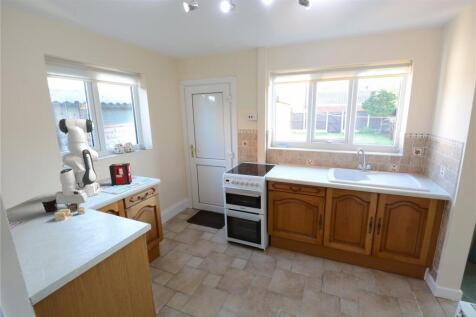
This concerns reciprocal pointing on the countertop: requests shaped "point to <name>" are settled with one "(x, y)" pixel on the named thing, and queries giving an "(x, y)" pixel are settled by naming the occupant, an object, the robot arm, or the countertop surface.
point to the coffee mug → (50, 204)
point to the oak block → (62, 214)
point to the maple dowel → (80, 210)
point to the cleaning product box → (120, 174)
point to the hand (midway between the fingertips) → (73, 208)
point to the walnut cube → (72, 207)
